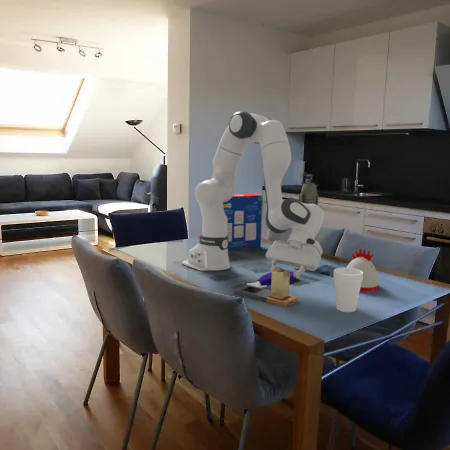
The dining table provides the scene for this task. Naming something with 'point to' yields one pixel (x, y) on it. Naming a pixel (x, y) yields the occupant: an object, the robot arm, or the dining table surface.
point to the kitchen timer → (365, 271)
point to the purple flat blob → (268, 280)
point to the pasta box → (244, 221)
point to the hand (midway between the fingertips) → (283, 274)
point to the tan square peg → (280, 284)
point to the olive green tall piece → (309, 194)
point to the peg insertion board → (264, 295)
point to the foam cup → (347, 288)
